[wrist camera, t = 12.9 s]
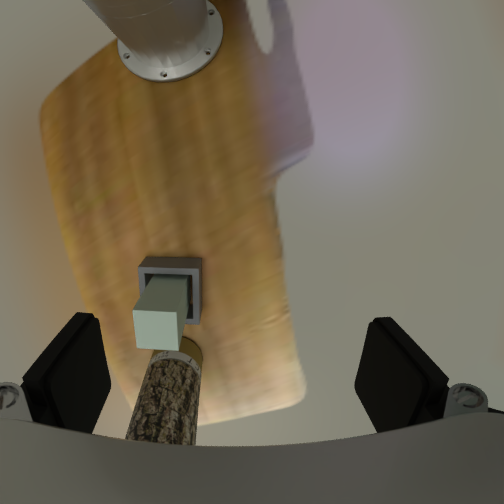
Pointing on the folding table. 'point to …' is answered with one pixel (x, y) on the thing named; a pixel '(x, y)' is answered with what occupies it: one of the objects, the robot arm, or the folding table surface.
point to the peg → (162, 312)
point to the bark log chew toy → (169, 397)
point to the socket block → (175, 267)
